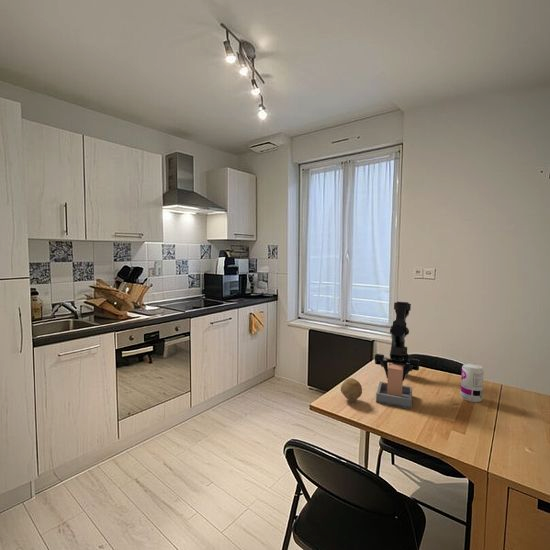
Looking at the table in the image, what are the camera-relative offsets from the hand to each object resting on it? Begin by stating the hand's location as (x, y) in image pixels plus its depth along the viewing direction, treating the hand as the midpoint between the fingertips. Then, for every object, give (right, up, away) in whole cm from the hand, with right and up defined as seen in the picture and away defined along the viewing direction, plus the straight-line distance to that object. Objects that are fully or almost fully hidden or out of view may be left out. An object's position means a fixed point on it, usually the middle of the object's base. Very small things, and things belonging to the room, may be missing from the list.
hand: (395, 379), depth 139 cm
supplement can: (+35, -10, +3) cm, 37 cm away
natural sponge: (-20, -9, -1) cm, 22 cm away
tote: (0, -9, +2) cm, 9 cm away
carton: (0, -6, +2) cm, 7 cm away
